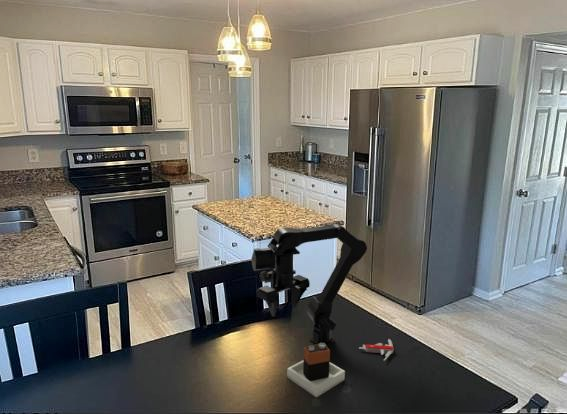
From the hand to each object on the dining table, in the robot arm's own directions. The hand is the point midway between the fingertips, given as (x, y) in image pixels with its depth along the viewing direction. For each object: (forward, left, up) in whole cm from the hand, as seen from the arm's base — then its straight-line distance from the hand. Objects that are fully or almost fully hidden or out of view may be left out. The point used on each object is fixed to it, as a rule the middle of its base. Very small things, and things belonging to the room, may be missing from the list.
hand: (283, 311), depth 137 cm
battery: (+4, +19, -12) cm, 23 cm away
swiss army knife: (-22, +22, -13) cm, 34 cm away
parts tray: (+4, +19, -13) cm, 23 cm away
